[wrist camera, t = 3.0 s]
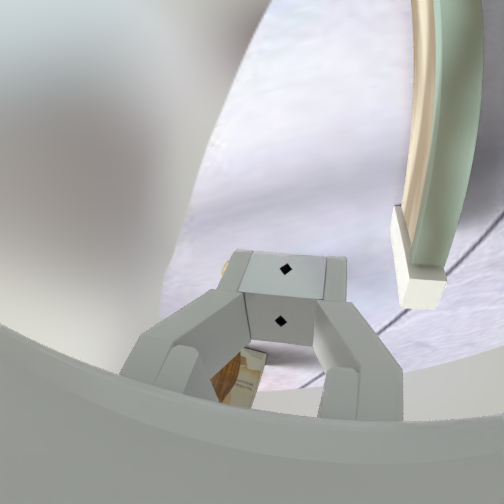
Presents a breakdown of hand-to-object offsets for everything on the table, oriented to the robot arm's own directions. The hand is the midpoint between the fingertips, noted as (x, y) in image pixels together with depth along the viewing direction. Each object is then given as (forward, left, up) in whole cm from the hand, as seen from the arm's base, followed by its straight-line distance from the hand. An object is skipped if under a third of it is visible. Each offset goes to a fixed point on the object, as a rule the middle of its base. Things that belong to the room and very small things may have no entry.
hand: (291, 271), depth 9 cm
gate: (-8, -3, -19) cm, 21 cm away
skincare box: (+11, +37, -20) cm, 44 cm away
